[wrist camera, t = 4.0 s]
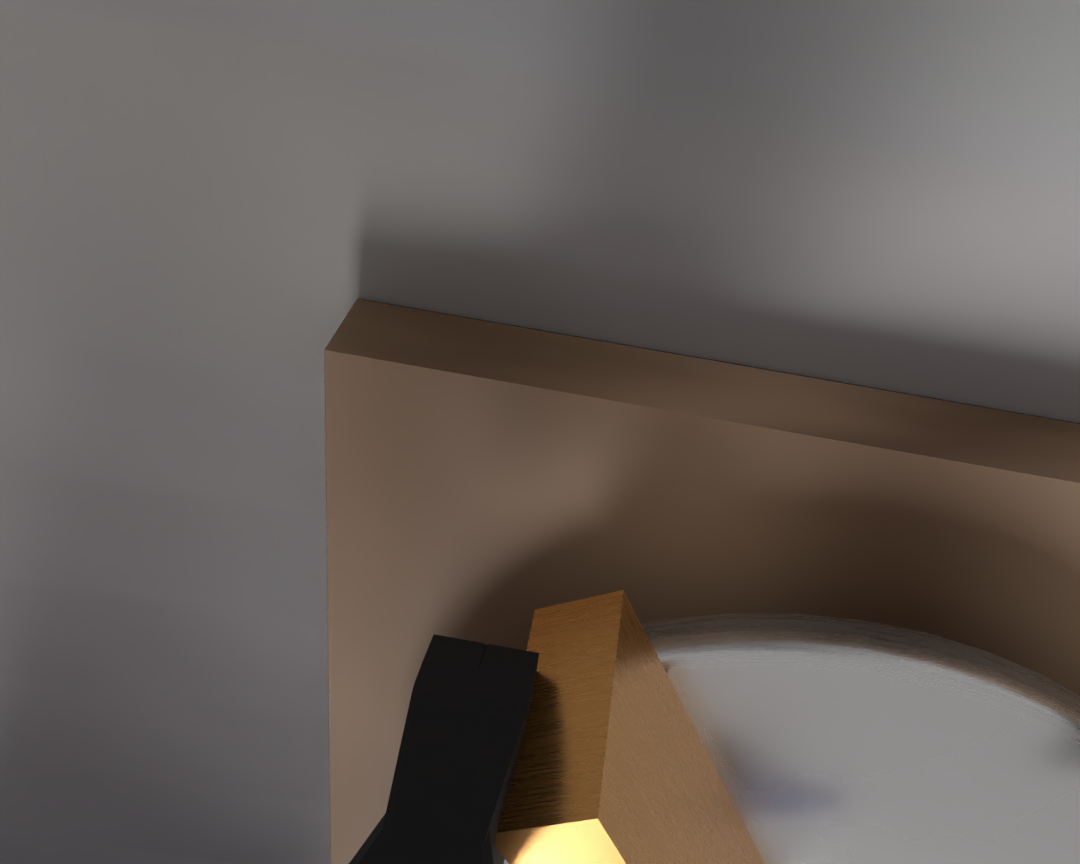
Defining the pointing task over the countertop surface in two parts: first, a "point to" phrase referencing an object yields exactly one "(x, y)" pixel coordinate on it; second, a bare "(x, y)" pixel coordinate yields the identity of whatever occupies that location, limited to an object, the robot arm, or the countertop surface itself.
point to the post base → (657, 510)
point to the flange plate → (785, 745)
